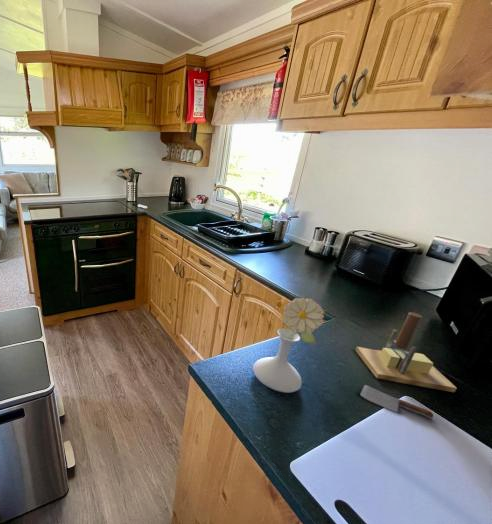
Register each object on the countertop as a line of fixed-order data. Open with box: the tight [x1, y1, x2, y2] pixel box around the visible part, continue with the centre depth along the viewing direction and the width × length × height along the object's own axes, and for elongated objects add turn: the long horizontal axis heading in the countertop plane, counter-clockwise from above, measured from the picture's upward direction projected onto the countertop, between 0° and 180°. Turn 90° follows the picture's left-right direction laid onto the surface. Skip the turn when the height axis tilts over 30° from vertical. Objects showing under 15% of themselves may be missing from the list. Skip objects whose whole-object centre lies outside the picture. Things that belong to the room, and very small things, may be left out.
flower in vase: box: [252, 297, 325, 394], centre depth 68 cm, size 13×11×25 cm
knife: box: [390, 311, 423, 371], centre depth 78 cm, size 3×6×16 cm, turn 168°
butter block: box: [407, 351, 434, 374], centre depth 79 cm, size 7×4×4 cm, turn 78°
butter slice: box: [379, 347, 400, 368], centre depth 80 cm, size 2×4×4 cm, turn 168°
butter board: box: [355, 328, 458, 393], centre depth 79 cm, size 18×12×10 cm, turn 78°
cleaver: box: [359, 384, 434, 419], centre depth 68 cm, size 13×2×5 cm
